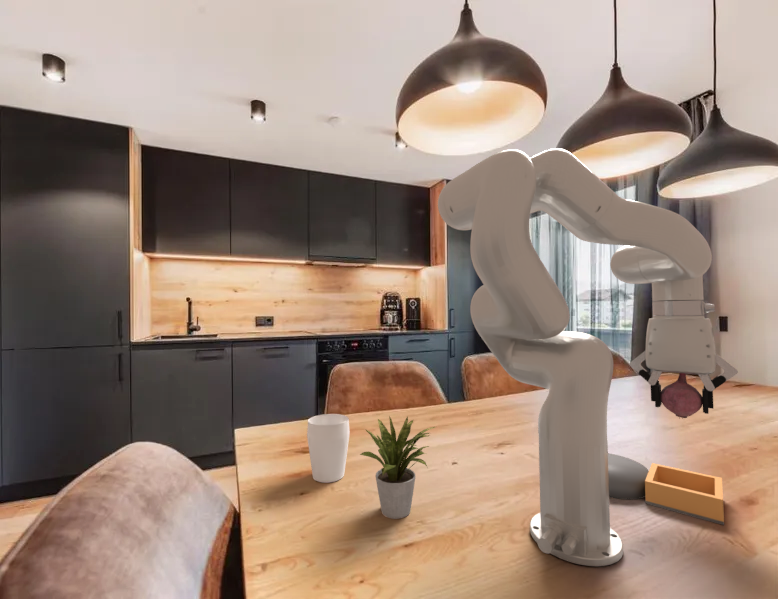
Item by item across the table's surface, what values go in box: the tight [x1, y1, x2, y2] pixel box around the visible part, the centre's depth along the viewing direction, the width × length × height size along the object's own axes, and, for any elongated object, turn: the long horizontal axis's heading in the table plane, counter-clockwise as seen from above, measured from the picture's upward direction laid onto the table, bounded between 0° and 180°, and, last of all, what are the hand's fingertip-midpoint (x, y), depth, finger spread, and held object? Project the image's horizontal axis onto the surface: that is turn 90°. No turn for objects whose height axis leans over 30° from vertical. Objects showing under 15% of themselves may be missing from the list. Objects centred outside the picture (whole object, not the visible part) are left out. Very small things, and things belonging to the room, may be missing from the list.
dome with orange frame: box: [608, 452, 725, 526], centre depth 72 cm, size 14×24×4 cm, turn 49°
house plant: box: [359, 415, 436, 520], centre depth 64 cm, size 14×14×16 cm
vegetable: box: [660, 373, 703, 420], centre depth 68 cm, size 6×6×10 cm
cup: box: [306, 413, 351, 484], centre depth 79 cm, size 9×9×12 cm
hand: (681, 407), depth 68 cm, fingers closed on vegetable, 6 cm apart
